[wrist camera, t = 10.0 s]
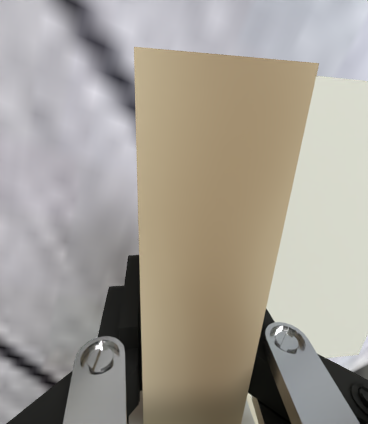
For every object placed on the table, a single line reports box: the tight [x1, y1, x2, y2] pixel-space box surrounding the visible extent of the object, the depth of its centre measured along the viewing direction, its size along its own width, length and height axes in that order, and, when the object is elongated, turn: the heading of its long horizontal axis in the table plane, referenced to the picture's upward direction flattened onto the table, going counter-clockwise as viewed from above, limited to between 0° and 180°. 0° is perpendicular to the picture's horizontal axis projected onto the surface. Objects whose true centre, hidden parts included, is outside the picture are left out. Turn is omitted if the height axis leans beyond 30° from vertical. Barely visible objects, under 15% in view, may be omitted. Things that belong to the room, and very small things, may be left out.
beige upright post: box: [129, 47, 319, 424], centre depth 9 cm, size 7×15×5 cm, turn 177°
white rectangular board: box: [266, 76, 368, 358], centre depth 20 cm, size 14×24×2 cm, turn 176°
